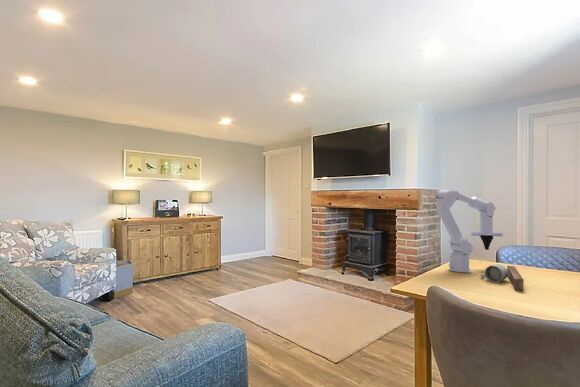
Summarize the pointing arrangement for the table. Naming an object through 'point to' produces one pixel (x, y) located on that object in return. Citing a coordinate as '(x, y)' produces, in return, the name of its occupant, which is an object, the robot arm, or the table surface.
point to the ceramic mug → (495, 273)
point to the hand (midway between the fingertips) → (486, 249)
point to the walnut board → (515, 278)
